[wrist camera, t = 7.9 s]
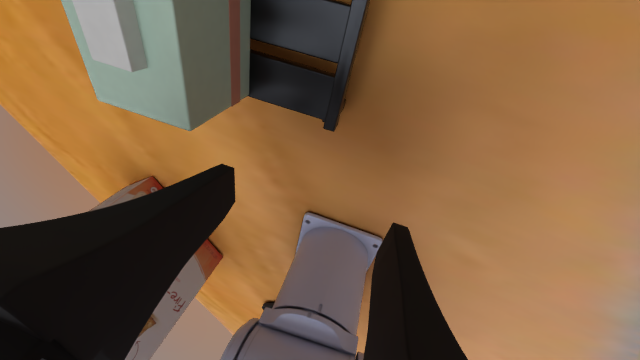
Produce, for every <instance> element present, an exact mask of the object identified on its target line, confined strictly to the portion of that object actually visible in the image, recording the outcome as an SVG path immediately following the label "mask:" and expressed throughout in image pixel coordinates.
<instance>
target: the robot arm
mask: <svg viewBox="0 0 640 360" xmlns="http://www.w3.org/2000/svg"><path fill="white" fill-rule="evenodd" d="M234 202H235V177H234V168H233V167H230V166H227V165H224V164H220V165H218V166H215V167H213V168H210V169H208V170H206V171H204V172H201V173H199V174H197V175H194V176H192V177H190V178H187V179H185V180H183V181H180V182H178V183H176V184H173V185H171V186H168V187H165V188H163V189H160V190H158V191H155V192H152V193H150V194H147V195H144V196H141V197H138V198H135V199H132V200H129V201H126V202H122V203H119V204H116V205H112V206H109V207H105V208H101V209H97V210H93V211H89V212H85V213H81V214H76V215H72V216H67V217H62V218H57V219H52V220H47V221H42V222H36V223H30V224H24V225H18V226H11V227H4V228H0V360H125V358H126V357H127V355H128V353H129V351H130V350H131V348H132V346H133V345H134V343H135V341H136V339H137V338H138V336H139V334H140V333H141V331H142V329H143V328H144V326H145V325H146V323H147V321H148V320H149V318H150V317H151V315H152V313H153V312H154V310H155V308H156V307H157V305H158V304H159V302H160V301H161V299H162V298H163V296H164V295H165V293H166V292H167V290H168V289H169V287H170V286H171V284H172V283H173V282H174V280H175V279H176V277H177V276H178V274H179V273H180V271H181V270H182V269H183V267H184V266H185V265H186V263H187V262H188V261H189V260H190V258H191V257H192V256H193V255H194V254H195V252H196V251H197V250H198V249H199V248H200V247H201V245H202V244H203V243H204V242H205V241H206V240H207V238H208V237H209V236H210V235H211V234H212V233H213V231H214V230H215V229H216V228H217V227H218V225H219V224H220V223H221V222H222V221H223V219H224V218H225V216H226V215H227V213H228V212H229V210H230V209H231V207H232V206H233V204H234ZM308 220H309V221H308ZM375 244H376V245H375ZM375 256H376V259H375V263H374V269H373V274H372V285H371V297H370V310H369V323H368V333H367V341H366V346H365V352H364V353H361V352H357V355H356V350H357V343H358V336H356V334H357V327H358V321H359V315H360V308H361V302H362V296H363V290H364V283H365V277H366V272H367V270H368V268H369V266H370V265H371V263H372V261H373V259H374V258H375ZM355 356H356V359H355ZM221 360H468V359H467V357H466V356H465V354H464V353H463V351H462V349H461V348H460V346H459V344H458V342H457V341H456V339H455V337H454V335H453V333H452V332H451V330H450V328H449V326H448V324H447V322H446V320H445V318H444V316H443V314H442V312H441V310H440V308H439V306H438V304H437V302H436V300H435V298H434V295H433V293H432V291H431V289H430V286H429V284H428V282H427V279H426V277H425V274H424V271H423V269H422V266H421V264H420V261H419V258H418V256H417V253H416V250H415V247H414V244H413V241H412V238H411V235H410V231H409V229H408V227H405V226H402V225H399V224H396V223H393V224H392V225H391V227H390V229H389V231H388V233H387V234H386V236H385V238H384V240H382V239H381V238H380V237H378V236H375V235H372V234H369V233H366V232H363V231H361V230H358V229H355V228H352V227H349V226H347V225H344V224H341V223H338V222H335V221H332V220H330V219H327V218H324V217H321V216H318V215H315V214H313V213H309V212H307V213H305V215H304V218H303V223H302V227H301V232H300V236H299V240H298V245H297V249H296V254H295V257H294V260H293V262H292V264H291V267H290V269H289V271H288V273H287V276H286V278H285V280H284V282H283V285H282V287H281V289H280V292H279V294H278V296H277V298H276V301H275V303H274V305H273V307H272V309H271V308H267V307H266V308H265V309H264V311H263V313H262V316H261V318H260V319H258V318H252V319H250V320H249V321H248V322H247V323H245V324H244V325H242V326H241V327H240V328H239V329H238V330H237V331H236V333H235V334H234V335H233V337H232V338H231V340H230V342H229V343H228V345H227V347H226V349H225V351H224V353H223V355H222V357H221Z"/></svg>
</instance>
